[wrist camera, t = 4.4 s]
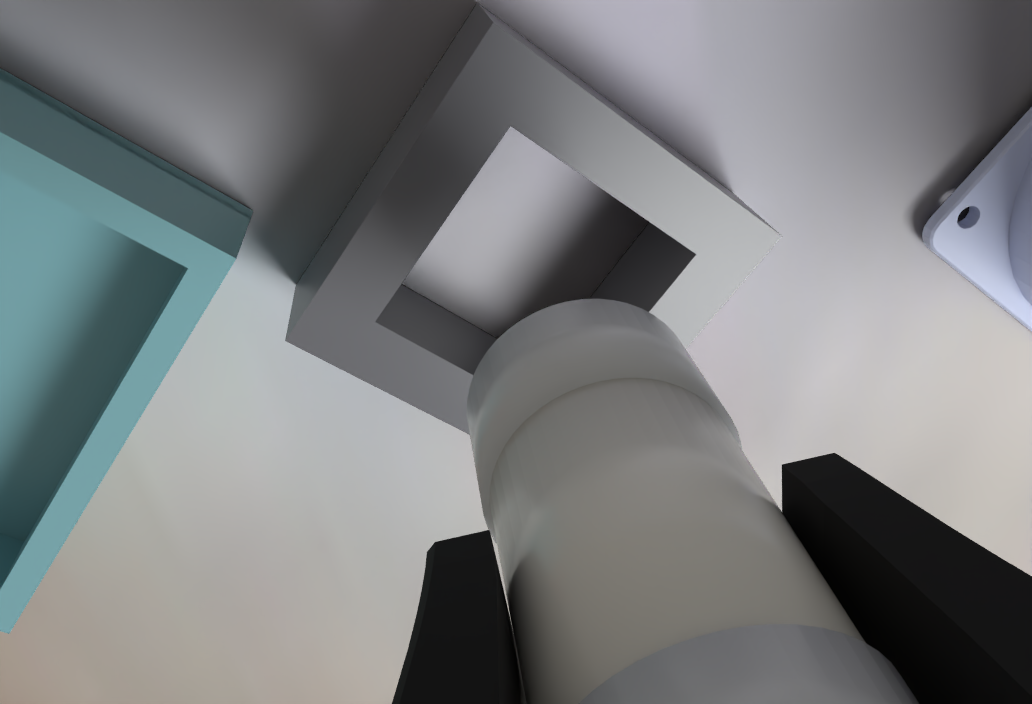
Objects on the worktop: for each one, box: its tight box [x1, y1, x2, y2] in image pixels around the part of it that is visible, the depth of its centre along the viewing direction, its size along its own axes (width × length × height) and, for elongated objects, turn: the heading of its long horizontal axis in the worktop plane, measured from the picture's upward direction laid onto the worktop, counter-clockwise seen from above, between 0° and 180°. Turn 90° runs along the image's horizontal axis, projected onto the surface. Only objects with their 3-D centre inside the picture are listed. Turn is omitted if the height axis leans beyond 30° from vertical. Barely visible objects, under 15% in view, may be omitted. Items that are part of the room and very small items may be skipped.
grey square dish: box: [285, 3, 782, 435], centre depth 17 cm, size 7×7×2 cm
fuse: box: [467, 299, 919, 704], centre depth 9 cm, size 3×3×8 cm
